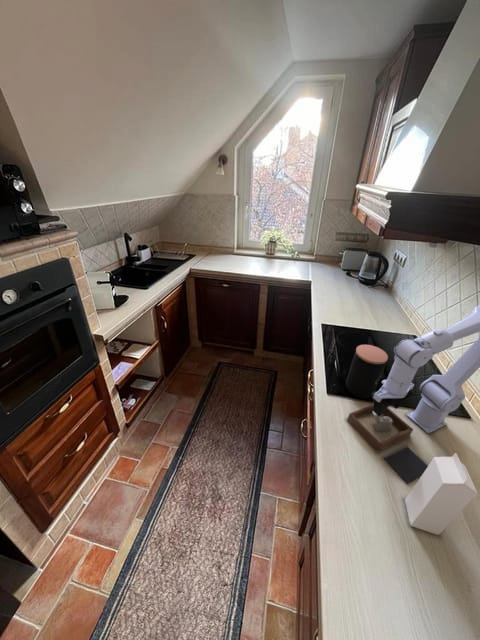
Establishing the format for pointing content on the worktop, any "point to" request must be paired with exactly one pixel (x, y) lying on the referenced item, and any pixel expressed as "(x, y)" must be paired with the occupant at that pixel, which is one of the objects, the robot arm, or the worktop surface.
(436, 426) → the robot arm
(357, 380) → the coffee jar
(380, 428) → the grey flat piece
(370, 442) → the brown wooden tray
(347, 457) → the worktop surface
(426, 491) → the milk
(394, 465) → the mat
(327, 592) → the worktop surface
